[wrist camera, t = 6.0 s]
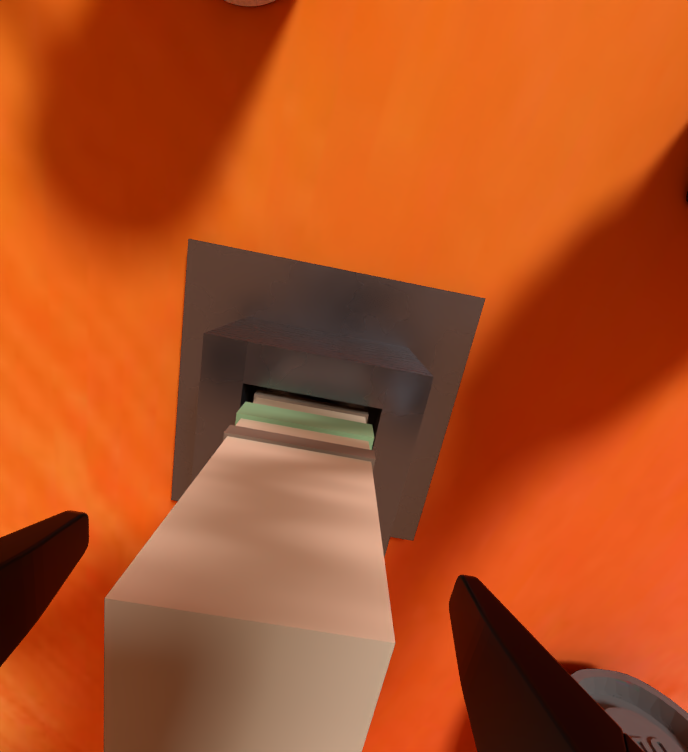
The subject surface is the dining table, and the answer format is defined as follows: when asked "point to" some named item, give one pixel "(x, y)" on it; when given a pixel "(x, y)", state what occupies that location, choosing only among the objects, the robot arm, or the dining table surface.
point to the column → (257, 596)
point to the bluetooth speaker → (638, 709)
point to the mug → (249, 2)
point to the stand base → (322, 361)
